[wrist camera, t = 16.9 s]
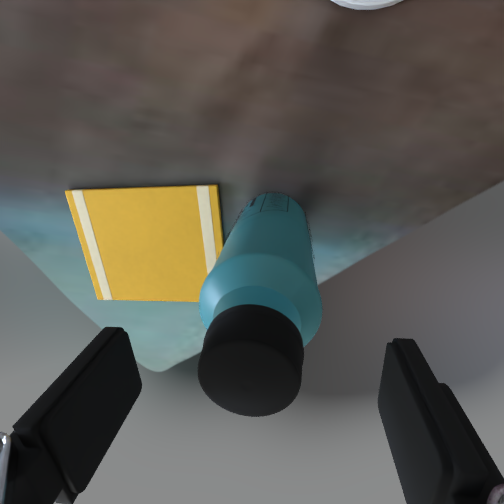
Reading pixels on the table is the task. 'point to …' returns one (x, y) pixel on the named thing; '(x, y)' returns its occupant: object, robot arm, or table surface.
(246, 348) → the beverage bottle
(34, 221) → the table surface
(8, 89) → the table surface
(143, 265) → the towel
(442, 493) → the robot arm
